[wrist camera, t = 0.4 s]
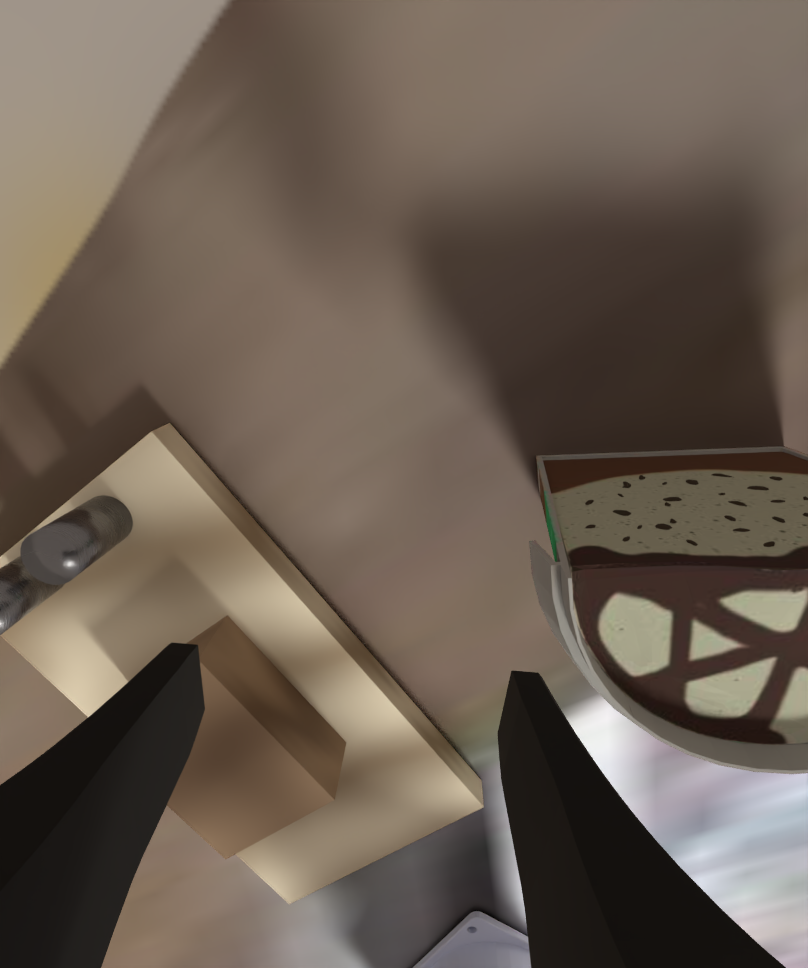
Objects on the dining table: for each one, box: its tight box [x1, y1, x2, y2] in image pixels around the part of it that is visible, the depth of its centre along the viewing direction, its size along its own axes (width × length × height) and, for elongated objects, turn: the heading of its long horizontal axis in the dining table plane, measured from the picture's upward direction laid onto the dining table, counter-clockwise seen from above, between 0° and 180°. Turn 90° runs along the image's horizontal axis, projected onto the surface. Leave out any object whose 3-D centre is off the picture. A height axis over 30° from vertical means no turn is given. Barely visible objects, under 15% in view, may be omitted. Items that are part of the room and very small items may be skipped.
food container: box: [529, 446, 808, 774], centre depth 18 cm, size 12×6×10 cm, turn 93°
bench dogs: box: [0, 495, 133, 635], centre depth 21 cm, size 2×6×4 cm, turn 127°
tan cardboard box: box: [167, 615, 346, 859], centre depth 23 cm, size 8×6×3 cm
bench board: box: [0, 423, 484, 904], centre depth 25 cm, size 22×12×2 cm, turn 37°
